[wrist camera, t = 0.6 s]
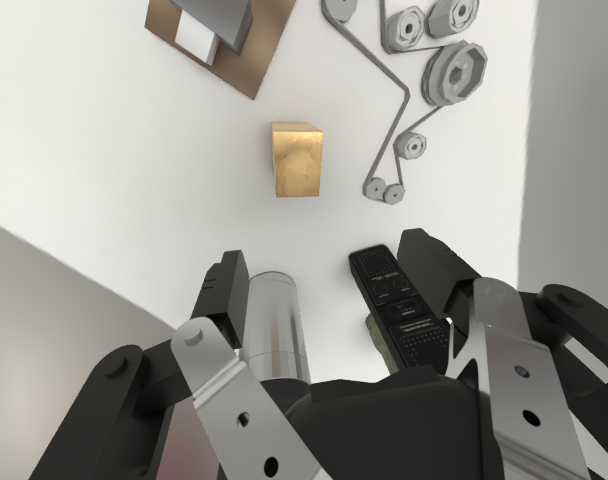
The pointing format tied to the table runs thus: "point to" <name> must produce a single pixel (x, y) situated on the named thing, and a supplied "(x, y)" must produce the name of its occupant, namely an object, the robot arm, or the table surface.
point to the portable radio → (401, 311)
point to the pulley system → (438, 76)
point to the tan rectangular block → (296, 159)
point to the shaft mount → (223, 35)
